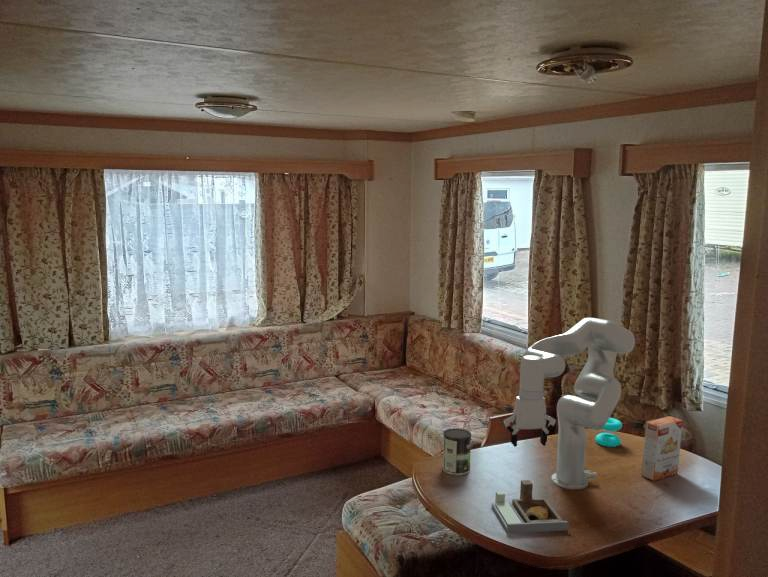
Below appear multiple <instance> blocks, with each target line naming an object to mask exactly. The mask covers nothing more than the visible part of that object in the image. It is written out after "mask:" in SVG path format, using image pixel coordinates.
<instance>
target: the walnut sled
mask: <svg viewBox="0 0 768 577" xmlns="http://www.w3.org/2000/svg"><path fill="white" fill-rule="evenodd" d="M533 486H534V484H533V483H532V481H531V480H529V479H526V480H525V479H524V480H523V479H521V480H520V489H519V490H520V492H519V494H520V495H519V498H512V502H511V503H512V505H513V506H514V508H515V509H516V511H517V512H518V514H519V515H520V517H521V518H522V520H523V521H524V523H533V522H554V521H564V520H563V519H562V518H560V517H561V516H560V515H559V513H558V512H557V511H556V510H555V508H554V507H553V505H551V504H550V502H549V501H548V500H547V499H546V497H535V498H534V497H533V489H534V487H533ZM538 506H541V507H543V508H545V509H547V510H548V517H550V518H551V519H547V520H533V521H530V520H529V518H528V517H527V515H526V514H525V513H526V511H524V510H523V508H532V507H538ZM552 507H553V508H552ZM556 512H557V513H556Z"/></svg>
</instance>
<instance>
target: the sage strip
mask: <svg viewBox="0 0 768 577" xmlns="http://www.w3.org/2000/svg"><path fill="white" fill-rule="evenodd" d="M505 501H506V493H505V492H504V490H495V499H494V505H495V506H496V508H497V509H498V511H499V513H500V514H501V516H502V518H503V519H504V521H505V523H506V524H511V523H522V522H521V521H520V519H519V518H518V516H517V515H516V513H515V512H514V510H513V509H512V507H511V506H510V504H509V503H510V502H505Z"/></svg>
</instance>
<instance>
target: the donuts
mask: <svg viewBox="0 0 768 577" xmlns="http://www.w3.org/2000/svg"><path fill="white" fill-rule="evenodd" d="M622 428H623V423H622V422H621V421H620V420H619V419H616V418H615V417H614V418H613V417H609V419H608V421H607V423H606V424H605V426H604V427H603V428H602V429H601V430H603V431H607V432H600V433H599V434H597V435H596V436H595V442H596V443H597V444H598V445H600V446H603V447H606V446H607V448H616V446H617V447H619V446H620V445H621V444H622V440H621V438H620V437H619V436H618V435H617V434H614V433H612V432H617V431H620V430H621V429H622ZM610 432H611V433H610Z"/></svg>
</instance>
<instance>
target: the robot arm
mask: <svg viewBox="0 0 768 577" xmlns="http://www.w3.org/2000/svg"><path fill="white" fill-rule="evenodd" d="M635 346H636V338H635V335H634V334H633V332H632V331H631V330H630V329H627V328H626V327H624V326H622V325H620V324H619V323H617V322H616V321H612V320H609V319H608V320H607V319H604V318H603V319H602V318H598V317H597V318H596V317H583V318H582V319H581V320H579V321H578V322H577V323H576V324H575V325H573V326H572V327H571V328H570V329H568V330H567V331H565V332H564V333H561V334H558V335H554V336H550V337H546V338H543V339H540V340H538V341H536V342H535V343H534V344H532V345H531V346H529V347H528V348H527V349H526V350H525V352H524V353H523V355H522V357H521V359H520V368H519V369H520V370H519V392H518V396H516V398H515V401H514V405H513V411H512V414H511V416H509V417H507V418H504V419H503V424H504V426H505V428H506V429H507V430H508V431H509V433H510V443H511V444H512V445H513V447H515V448H516V447H518V434H517V433H518V432H519V431H520V430H541V431H540V435H539V436H540V437H539V443H540V444H541V445H542V446H544V447H545V446H546V444H547V442H548V435H549V433H550V432H551V430H552V429H554V426H555V424H556V422H558V432H557V434H558V435H557V437H558V438H557V448H556V449H557V450H556V451H557V453H556V469H555V471H556V472H555V473H553V474H552V475H551V482H552V484H554V485H555V486H557V487H559V488H563V489H566V490H583V489H585V488H587V487H588V485H589V479H598V473H597V472H596V471H594V472H591V470H589V469H587V470H585V464H586V449H587V433H586V430H585V429H590V430H593V431H600V430H603V429H602V428H603V427H604V426H605V424H606V423H607V421H608V419H609V418H611V416H612V414H613V412H614V410H615V408H616V406H617V405H618V403H619V400H620V398H621V394H622V385H621V382H620V381H619V380H618V379H616V378H614V377H612V376H608V375H609V374H610V371H611V369H612V365H611V360H610V357H609V356H608V352H613V353H617V354H621V355H627V354H629V353H631V352H632V351H633V350H634V348H635ZM586 349H587V350H588V353H587V354H588V356H587V360H586V363H585V364H584V366H583V368H582V370H580V371H581V372H580V373H579V375H578V376H577V378H576V380H575V383H574V385H573V391H574V392H575V394H576V395H573V394H566V395H562V396H561V397H560V398H559V399H558V401H557V404H556V415H557V420H556V418H553V417H552V416H550V415H548V414H547V406H546V400H545V399H546V398H545V397H544V396H546V395H548V390H546V389H544V386H545V385H544V384H545V382H544V379H545V378H556V377H559V376H562V374H563V373H564V372H565V370H566V361H565V359H564V358H563V357H575V356H577V355H578V356H579V355H580V354H581V353H582V352H583V351H585V350H586ZM577 395H578V396H577ZM547 421H548V424H547ZM510 423H512V424H513V425H512V426H511V425H510Z"/></svg>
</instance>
